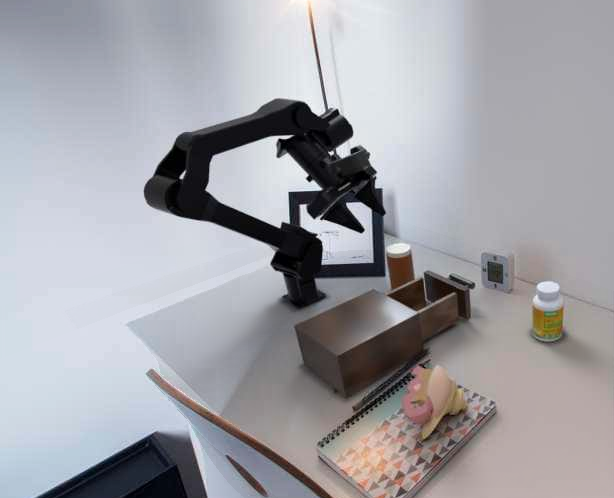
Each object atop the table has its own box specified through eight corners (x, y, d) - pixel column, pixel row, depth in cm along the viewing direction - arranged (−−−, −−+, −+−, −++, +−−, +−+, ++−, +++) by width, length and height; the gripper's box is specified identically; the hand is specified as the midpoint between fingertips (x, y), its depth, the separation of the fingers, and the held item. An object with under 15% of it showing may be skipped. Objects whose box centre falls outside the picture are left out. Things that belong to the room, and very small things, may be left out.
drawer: (446, 290, 108) (443, 262, 105) (486, 308, 101) (485, 280, 98) (370, 328, 96) (365, 299, 93) (410, 353, 90) (406, 321, 86)
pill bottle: (386, 294, 109) (380, 250, 104) (402, 283, 113) (396, 241, 108) (405, 300, 107) (399, 255, 102) (421, 289, 111) (416, 245, 106)
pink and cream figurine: (459, 390, 83) (487, 376, 75) (442, 453, 78) (470, 445, 70) (406, 369, 80) (429, 352, 72) (384, 433, 75) (407, 422, 67)
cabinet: (380, 326, 99) (373, 288, 95) (423, 352, 91) (419, 312, 87) (304, 365, 89) (293, 325, 85) (346, 398, 81) (336, 356, 77)
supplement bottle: (542, 345, 92) (543, 297, 87) (526, 330, 96) (526, 284, 91) (568, 336, 94) (570, 289, 89) (551, 322, 98) (553, 276, 93)
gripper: (312, 146, 89) (377, 216, 92) (364, 123, 105) (418, 184, 108) (278, 186, 94) (341, 251, 98) (333, 159, 110) (385, 215, 113)
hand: (374, 223), depth 104 cm, fingers open, 9 cm apart
